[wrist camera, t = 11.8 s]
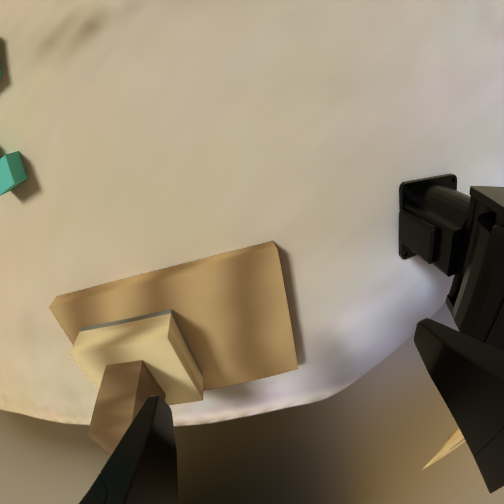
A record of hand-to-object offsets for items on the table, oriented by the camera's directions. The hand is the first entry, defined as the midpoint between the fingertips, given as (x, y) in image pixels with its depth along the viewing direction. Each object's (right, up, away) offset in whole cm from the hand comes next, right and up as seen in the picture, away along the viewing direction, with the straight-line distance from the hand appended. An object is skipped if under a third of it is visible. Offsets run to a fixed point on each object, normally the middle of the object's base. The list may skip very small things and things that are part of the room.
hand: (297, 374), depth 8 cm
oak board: (-8, -3, +14) cm, 16 cm away
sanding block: (-10, -4, +12) cm, 16 cm away
